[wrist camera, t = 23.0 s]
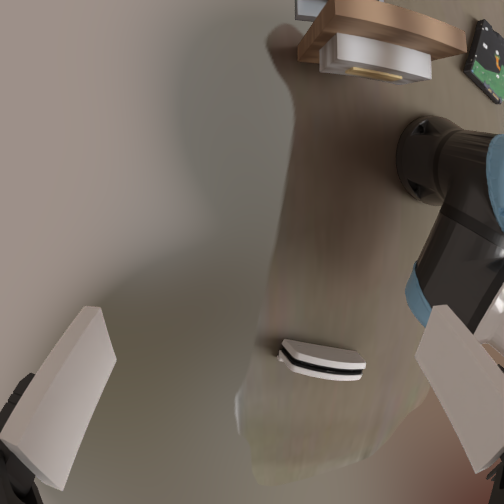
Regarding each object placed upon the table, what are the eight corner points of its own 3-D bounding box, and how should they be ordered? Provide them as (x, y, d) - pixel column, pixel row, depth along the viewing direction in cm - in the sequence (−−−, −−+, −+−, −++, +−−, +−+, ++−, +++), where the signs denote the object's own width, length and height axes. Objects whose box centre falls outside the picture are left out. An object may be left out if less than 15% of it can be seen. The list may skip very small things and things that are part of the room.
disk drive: (475, 20, 32) (461, 72, 37) (483, 17, 29) (470, 71, 34) (507, 52, 33) (495, 105, 38) (516, 51, 31) (504, 105, 36)
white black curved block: (274, 356, 58) (285, 379, 49) (281, 335, 58) (293, 355, 48) (347, 368, 60) (366, 388, 51) (354, 348, 60) (375, 366, 50)
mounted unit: (384, 59, 37) (464, 31, 18) (385, 93, 39) (468, 82, 20) (297, 46, 37) (334, -9, 17) (297, 82, 39) (336, 48, 20)
